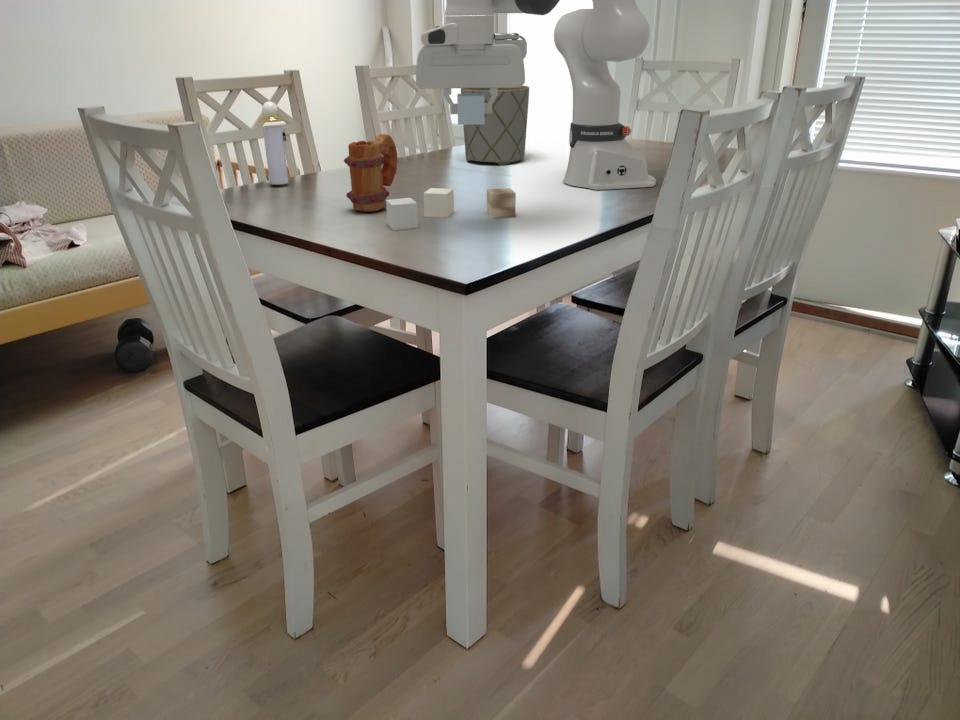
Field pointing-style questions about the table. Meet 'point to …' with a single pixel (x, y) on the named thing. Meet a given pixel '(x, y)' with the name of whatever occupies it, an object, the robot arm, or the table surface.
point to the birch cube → (501, 203)
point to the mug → (371, 172)
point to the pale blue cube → (471, 109)
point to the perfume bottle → (274, 145)
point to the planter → (499, 127)
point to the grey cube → (402, 213)
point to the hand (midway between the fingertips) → (471, 113)
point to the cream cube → (438, 202)
